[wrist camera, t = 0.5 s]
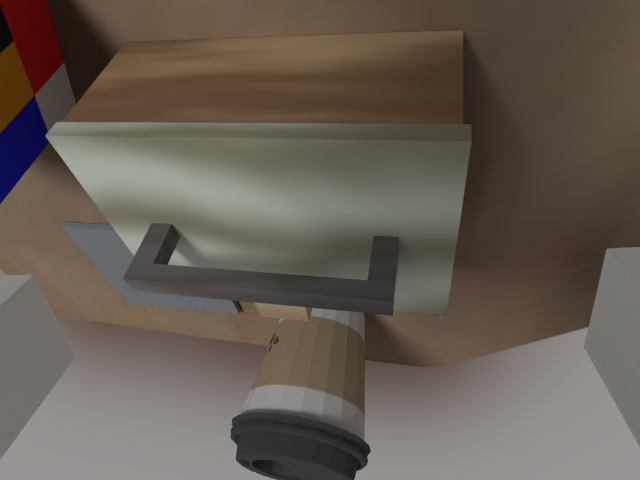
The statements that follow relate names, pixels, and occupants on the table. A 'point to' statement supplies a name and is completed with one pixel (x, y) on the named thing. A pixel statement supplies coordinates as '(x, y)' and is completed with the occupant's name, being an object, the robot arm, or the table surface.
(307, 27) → the table surface
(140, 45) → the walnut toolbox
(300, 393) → the coffee cup
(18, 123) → the puzzle toy
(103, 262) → the slate mat
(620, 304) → the robot arm
